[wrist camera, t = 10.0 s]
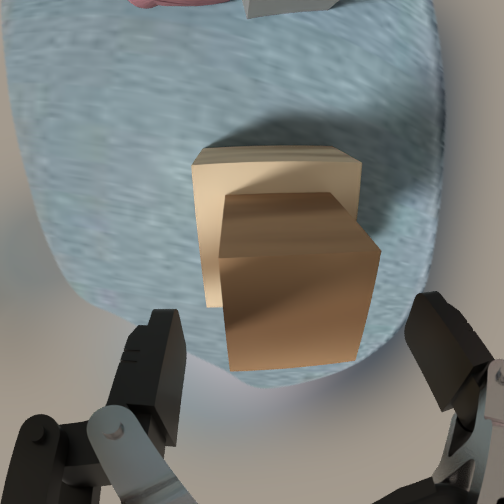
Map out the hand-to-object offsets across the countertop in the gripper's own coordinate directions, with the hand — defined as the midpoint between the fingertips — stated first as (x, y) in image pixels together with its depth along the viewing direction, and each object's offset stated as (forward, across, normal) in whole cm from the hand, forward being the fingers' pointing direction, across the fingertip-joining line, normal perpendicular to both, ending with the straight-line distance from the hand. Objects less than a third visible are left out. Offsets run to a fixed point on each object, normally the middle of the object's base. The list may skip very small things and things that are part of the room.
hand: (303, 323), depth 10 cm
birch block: (+11, 0, 0) cm, 11 cm away
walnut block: (+6, 0, 0) cm, 6 cm away
